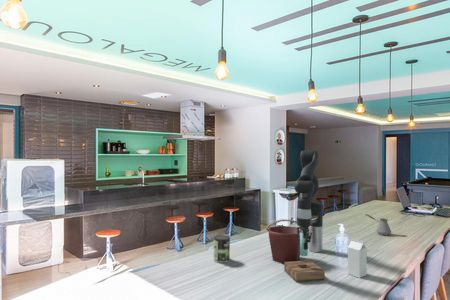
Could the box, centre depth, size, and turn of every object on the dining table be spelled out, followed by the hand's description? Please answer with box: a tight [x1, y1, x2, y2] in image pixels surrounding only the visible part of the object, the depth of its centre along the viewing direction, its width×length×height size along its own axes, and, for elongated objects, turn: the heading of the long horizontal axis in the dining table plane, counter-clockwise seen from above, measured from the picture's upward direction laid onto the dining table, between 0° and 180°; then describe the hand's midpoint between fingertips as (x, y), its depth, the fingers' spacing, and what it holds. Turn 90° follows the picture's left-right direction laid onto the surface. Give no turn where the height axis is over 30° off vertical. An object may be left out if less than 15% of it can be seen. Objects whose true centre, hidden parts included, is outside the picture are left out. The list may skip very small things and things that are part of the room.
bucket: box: [265, 218, 301, 265], centre depth 195 cm, size 24×22×25 cm
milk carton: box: [347, 238, 368, 279], centre depth 171 cm, size 7×7×19 cm
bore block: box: [283, 260, 326, 283], centre depth 169 cm, size 16×16×5 cm
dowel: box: [300, 233, 309, 257], centre depth 169 cm, size 4×4×12 cm
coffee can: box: [213, 234, 231, 264], centre depth 193 cm, size 10×10×14 cm
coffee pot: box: [365, 213, 392, 237], centre depth 263 cm, size 21×12×15 cm, turn 42°
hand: (303, 248), depth 169 cm, fingers closed on dowel, 4 cm apart
